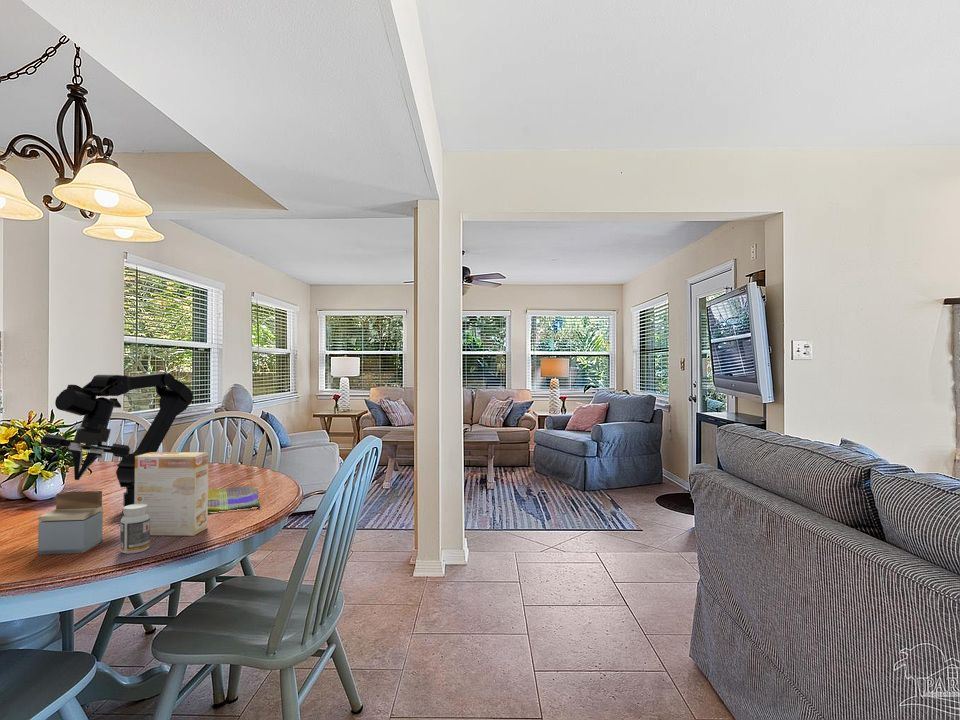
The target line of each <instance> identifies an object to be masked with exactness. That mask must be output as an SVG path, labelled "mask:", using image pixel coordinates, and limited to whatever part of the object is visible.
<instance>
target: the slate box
mask: <svg viewBox="0 0 960 720" xmlns="http://www.w3.org/2000/svg"><path fill="white" fill-rule="evenodd" d="M103 513H104V512H103V510H102V511H100V512H98V513H96V514H94V515H92V516H90V517H88V518H86V519H84V520H58V521H38V526H37V527H38V529H37V530H38V531H37V532H38V533H37V541H38V542H37V555H59V554H60V555H61V554H78V553H79V554H81V553H85V552H87V551H88V550H90V549H92V548H94V547H95V546H97V545H98V544H99V543H102V542H103V526H104V525H103V524H104V521H103V519H104V518H103V517H104V515H103Z"/></svg>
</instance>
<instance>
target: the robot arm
mask: <svg viewBox="0 0 960 720" xmlns="http://www.w3.org/2000/svg"><path fill="white" fill-rule="evenodd" d="M145 388H155V393H156V394H157V395H158V396H159V397H160V398H159V400H158V404H159V411H158V412H157V414H156V415H155V417H154V419H153V420H152V423H151V424H150V426H149V428H148V429H147V431H146V433H145V435H144V436H143V438H142V440H140V443H139V444H138V447H137V448H136V450H134V451H133V452H132V453H130V452H131V447H130V446H129V445H127V444H121V443H113V444H112V445H105V444H103V443H107V442H108V441H109V438H110V435H111V431H112V430H111V428H108V426H109V423H110V420H111V417H112V414H113V411H114V409H115V408H116V409H117V408H118V409H121V408H122V404H121V403H120V402H119V400H118V398H116V397H119V396H122V395H124V394H128V393H129V392H130V391H132V390H137V389H138V390H139V389H145ZM109 396H110V398H107V397H109ZM111 397H112V398H111ZM113 397H114V398H113ZM193 399H194V395H193V392H192V390H191V389H190V388H189V387H188V386H187V385H186V384H185V383H183V382H181V381H180V380H179V379H177V378H175V376H174V375H172V374H171V373H170V372H159V371H158V372H154V373H146V374H145V373H144V374H135V375H123V374H122V375H120V374H96V375H94V376H93V378H92V379H91V381H89V382H88V383H86V384H85V385H84V386H82V387H81V386H79V385H76V384H68V385H67V386H66V388H65V389H62V391H61V392H60V393H59V394H58V395H57V396H56V398H55V401H54V402H55V403H54V405H55V407H56V409H57V410H59V411H63V412H66V413H70V414H73V415H77V416H80V417H81V416H83V418H82V421H81V424H80V426H79V427H78V428H77V430H76V433H75V436H74V437H73V438H74V439H73V440H71V439H66V437H64V436H63V435H58V434H57V435H56V434H51V433H46V434H44V435H43V437H42V438H41V441H40V445H41V446H42V447H43V448H51V449H58V450H60V449H61V448H64V447H65V448H68V449H67V450H66V451H67V453H68V454H70V455H72V460H73V468H74V469H73V472H74V480H75V481H80V479H81V478H82V477H83V475H84V474H85V472H87V470H88V469H89V468H90V466H91V465H92V464H93V463H94V462H95V461H96V460H97V459H98V458H101V459H103V457H104V456H103V454H104V453H106V454H107V453H109V454H112V455H113V457H117V458H121V460H120V462H119V463H118V464H117V465H116V467H117V469H116V470H115V474H116V479H117V480H118V483H119V486H120V488H125V492H123V503H122V504H123V505H122V507H125V506H128V505H132V504H134V488H135V456H138V455H142V454H145V453H150V452H158V450H159V449H160V446H161V444H162V442H163V441H164V439H165V438H166V436H167V434H168V432H169V430H170V429H171V427H172V424H173V423H174V421H175V420H176V418H177V416H178V415H180V414H181V413H183V412H184V411H186V410H187V409H188V407H189V406H190V404H191V403H192V402H193ZM84 450H86V451H87V453H86V456H85V459H84V461H83V457H84V453H83V452H82V451H84ZM82 461H83V463H82Z"/></svg>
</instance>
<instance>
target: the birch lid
mask: <svg viewBox="0 0 960 720" xmlns="http://www.w3.org/2000/svg"><path fill="white" fill-rule="evenodd" d="M55 501H56V502H55V504H56V505H55V509H53V510H50V511H48V512H46V513H43V514H41V515H38V522H41V521H58V520H84V519H86V518H88V517H90V516H92V515H94V514H96V513H98V512H100V511H103V510H104V505H103V491H102V490H91V491H90V490H89V491H84V490H83V491H60V492H58V493H56V499H55Z"/></svg>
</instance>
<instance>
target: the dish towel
mask: <svg viewBox="0 0 960 720" xmlns="http://www.w3.org/2000/svg"><path fill="white" fill-rule="evenodd" d="M258 492H259V493H260V491H259V489H258V488H257V486H254V485H252V484H251V485H245V486H232V487H225V488H210V489H209V488H208V513H210V512H219V511H228V510H237V509H251V508H252V507H258V506H259V507H260V506H261V502H260V499H259V500H258ZM213 507H218V508H213ZM259 507H258V508H259Z"/></svg>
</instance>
